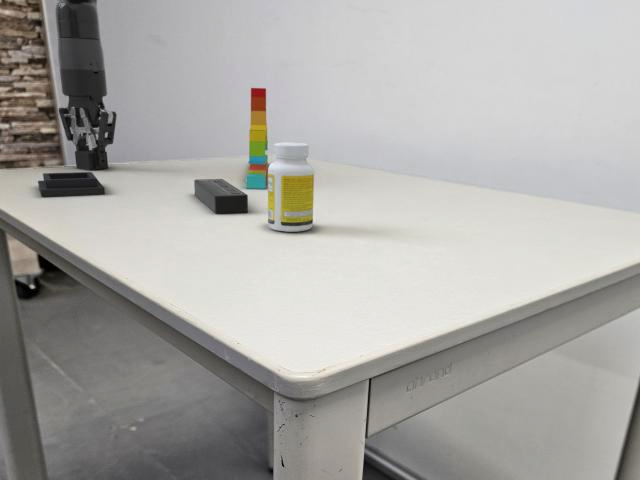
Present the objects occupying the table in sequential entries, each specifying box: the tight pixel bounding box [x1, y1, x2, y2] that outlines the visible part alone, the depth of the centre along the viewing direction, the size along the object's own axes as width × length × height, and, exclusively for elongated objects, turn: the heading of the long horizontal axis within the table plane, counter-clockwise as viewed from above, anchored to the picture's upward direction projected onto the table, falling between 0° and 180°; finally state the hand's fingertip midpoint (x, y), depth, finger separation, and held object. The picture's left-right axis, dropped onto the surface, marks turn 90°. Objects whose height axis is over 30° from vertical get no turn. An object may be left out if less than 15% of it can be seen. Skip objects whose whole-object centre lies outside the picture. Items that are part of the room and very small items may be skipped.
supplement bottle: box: [267, 141, 315, 233], centre depth 75 cm, size 5×5×10 cm
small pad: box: [74, 149, 109, 171], centre depth 117 cm, size 4×4×3 cm
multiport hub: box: [193, 178, 249, 215], centre depth 89 cm, size 4×14×2 cm, turn 22°
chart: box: [244, 87, 269, 190], centre depth 113 cm, size 30×3×15 cm, turn 4°
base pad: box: [37, 171, 106, 198], centre depth 94 cm, size 9×9×2 cm
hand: (92, 166), depth 117 cm, fingers closed on small pad, 4 cm apart
